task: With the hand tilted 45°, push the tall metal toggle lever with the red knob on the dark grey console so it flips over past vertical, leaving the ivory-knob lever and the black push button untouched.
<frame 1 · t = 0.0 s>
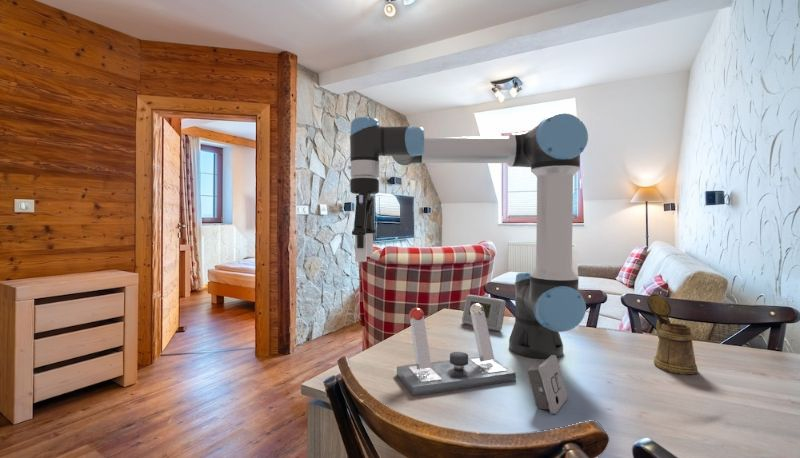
hand: (364, 259, 99), 28 cm above the table, tool pointing down, fingers open, 13 cm apart
wooden mug: (669, 365, 99), on the table
red knob lever: (419, 337, 91), point 10 cm above the table, hinge at -25.0°
console: (455, 377, 91), on the table
electrical switch: (547, 404, 78), on the table
ivory knob lever: (481, 331, 96), point 10 cm above the table, hinge at -25.0°
black button: (459, 358, 91), point 5 cm above the table, slide at 0.0 cm
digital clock: (483, 327, 135), on the table
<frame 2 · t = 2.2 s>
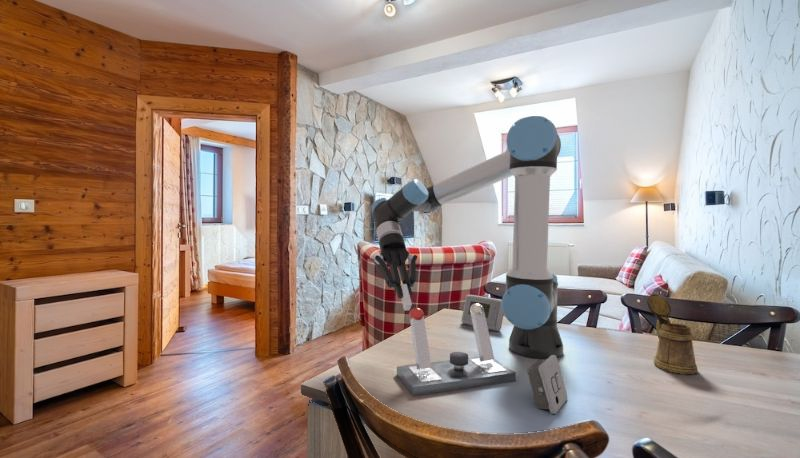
hand: (408, 307, 97), 16 cm above the table, tool tilted 45°, fingers closed
nothing on the table moved.
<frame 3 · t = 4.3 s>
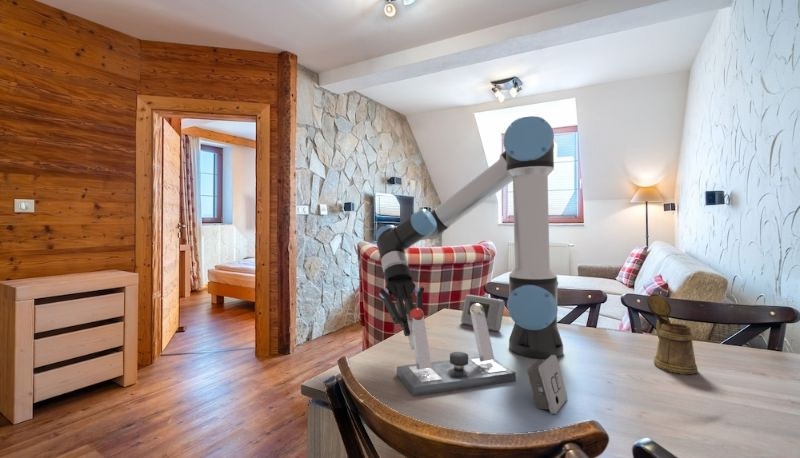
hand: (415, 346, 92), 7 cm above the table, tool tilted 45°, fingers closed
red knob lever: (419, 337, 91), point 10 cm above the table, hinge at -24.8°, touching gripper
everything else where it was.
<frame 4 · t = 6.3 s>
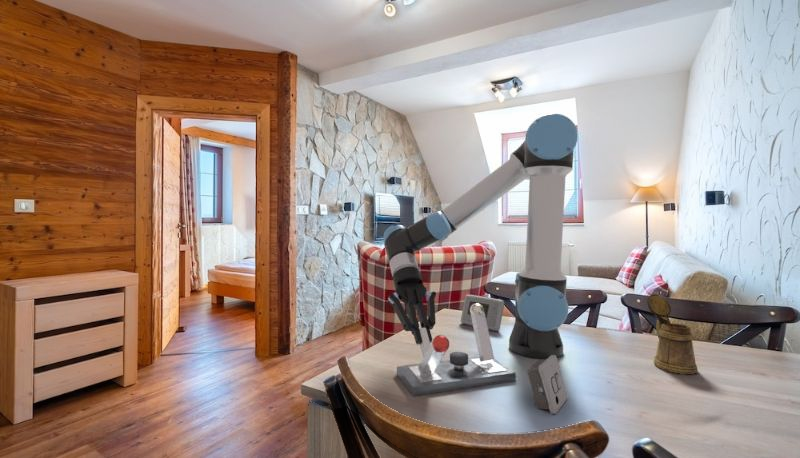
hand: (428, 356, 85), 7 cm above the table, tool tilted 45°, fingers closed
red knob lever: (433, 355, 83), point 8 cm above the table, hinge at 44.4°, touching gripper
everything else where it was.
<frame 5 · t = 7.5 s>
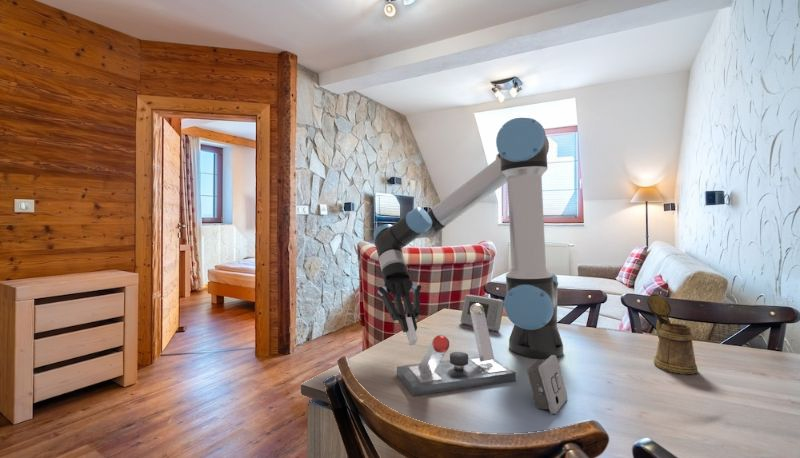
hand: (413, 342, 95), 7 cm above the table, tool tilted 45°, fingers closed
red knob lever: (433, 355, 83), point 8 cm above the table, hinge at 44.6°
everything else where it was.
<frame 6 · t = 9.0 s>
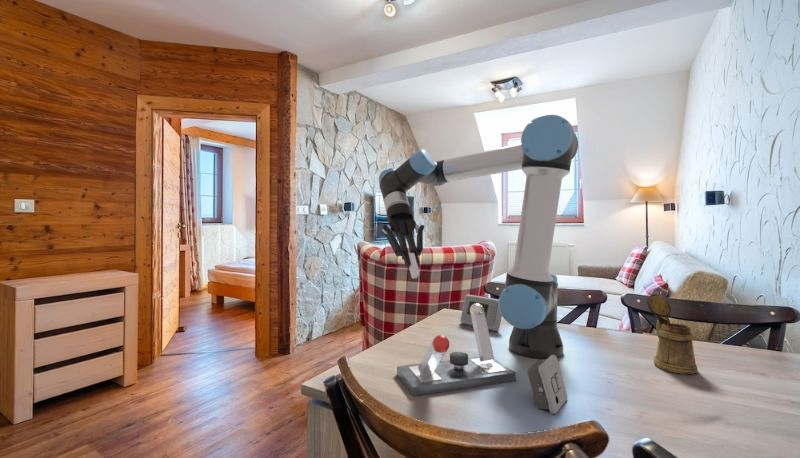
hand: (415, 275, 100), 23 cm above the table, tool tilted 40°, fingers closed
nothing on the table moved.
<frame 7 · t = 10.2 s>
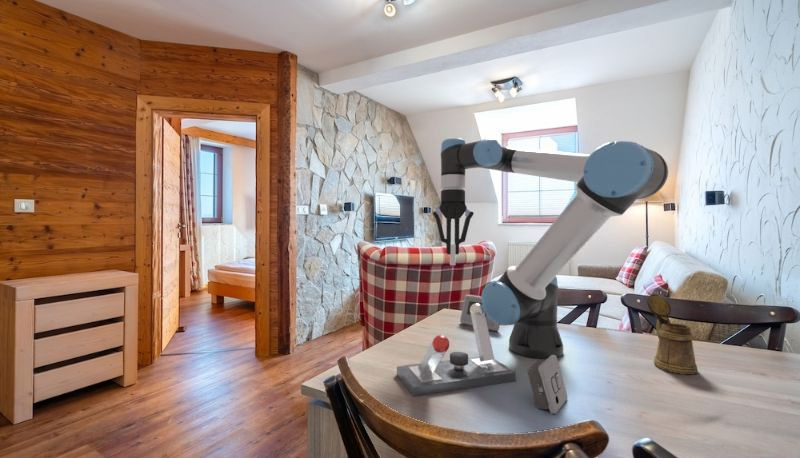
hand: (452, 264, 117), 24 cm above the table, tool pointing down, fingers closed
nothing on the table moved.
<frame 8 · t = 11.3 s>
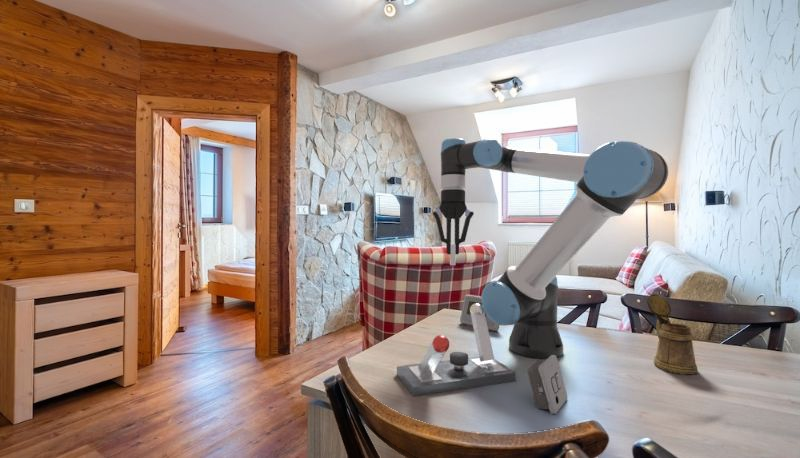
hand: (452, 264, 117), 24 cm above the table, tool pointing down, fingers closed
nothing on the table moved.
at the end: red knob lever at +45° (first picture: -25°); ivory knob lever at -25° (first picture: -25°); black button slide at 0.0 cm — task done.
